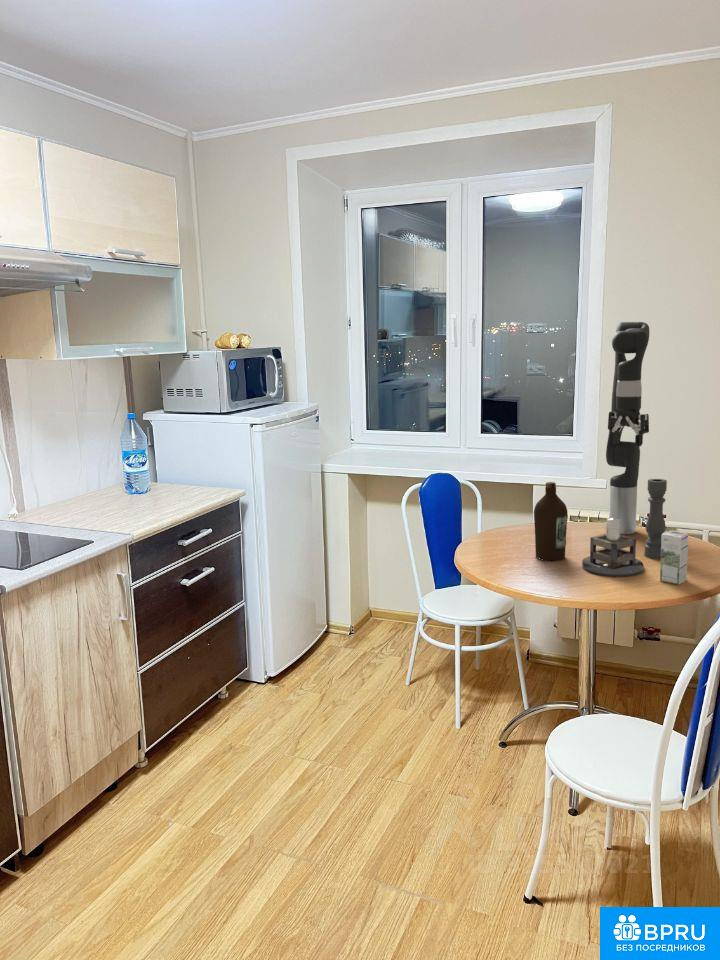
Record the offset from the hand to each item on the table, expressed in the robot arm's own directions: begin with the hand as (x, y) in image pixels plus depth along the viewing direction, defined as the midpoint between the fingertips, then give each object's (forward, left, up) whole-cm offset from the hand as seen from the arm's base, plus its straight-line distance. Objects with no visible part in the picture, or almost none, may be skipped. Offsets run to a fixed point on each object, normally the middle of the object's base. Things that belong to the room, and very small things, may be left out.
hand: (627, 445), depth 231 cm
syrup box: (+29, +4, -36) cm, 47 cm away
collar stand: (+15, -9, -36) cm, 40 cm away
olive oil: (+2, -25, -36) cm, 44 cm away
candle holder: (+5, +8, -36) cm, 37 cm away
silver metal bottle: (+15, -9, -34) cm, 39 cm away
